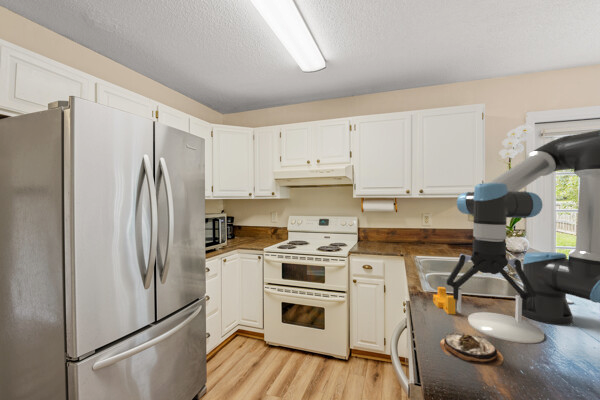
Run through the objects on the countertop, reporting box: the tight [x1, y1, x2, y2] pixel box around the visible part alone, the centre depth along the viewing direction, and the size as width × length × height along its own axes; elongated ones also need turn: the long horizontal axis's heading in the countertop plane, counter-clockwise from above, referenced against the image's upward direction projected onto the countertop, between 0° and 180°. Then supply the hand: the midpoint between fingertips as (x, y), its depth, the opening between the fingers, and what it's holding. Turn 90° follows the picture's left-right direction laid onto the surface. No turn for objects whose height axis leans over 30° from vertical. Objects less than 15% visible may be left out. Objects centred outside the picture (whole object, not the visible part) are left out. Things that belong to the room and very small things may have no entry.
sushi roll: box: [439, 331, 504, 366], centre depth 77 cm, size 15×15×4 cm
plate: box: [467, 311, 545, 344], centre depth 90 cm, size 20×20×1 cm
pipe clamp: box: [432, 286, 456, 315], centre depth 108 cm, size 12×4×6 cm, turn 170°
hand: (487, 316), depth 76 cm, fingers open, 13 cm apart
